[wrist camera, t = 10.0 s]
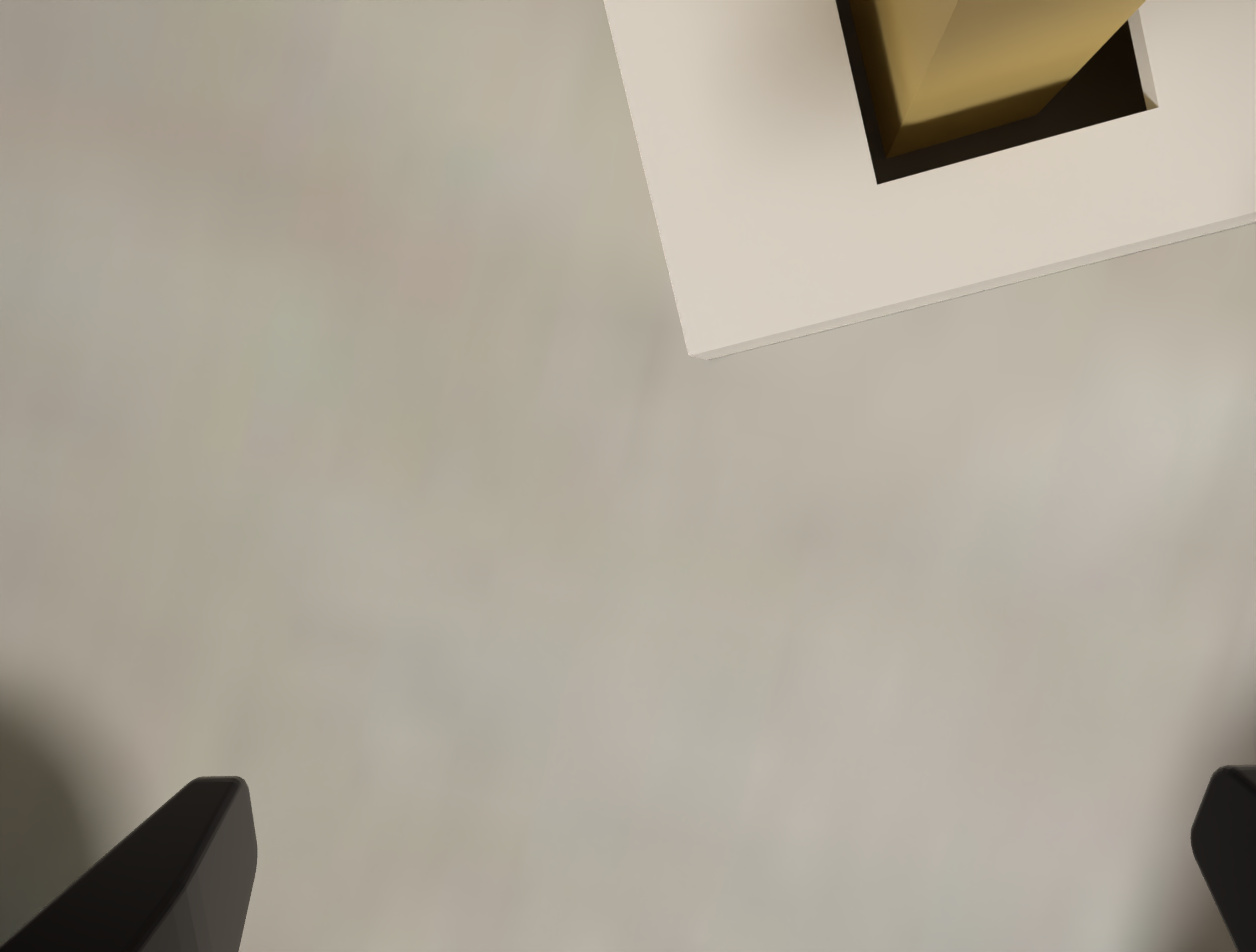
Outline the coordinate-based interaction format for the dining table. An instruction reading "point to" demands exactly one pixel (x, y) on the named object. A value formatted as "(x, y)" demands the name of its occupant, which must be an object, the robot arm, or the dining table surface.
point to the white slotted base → (915, 163)
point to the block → (973, 60)
